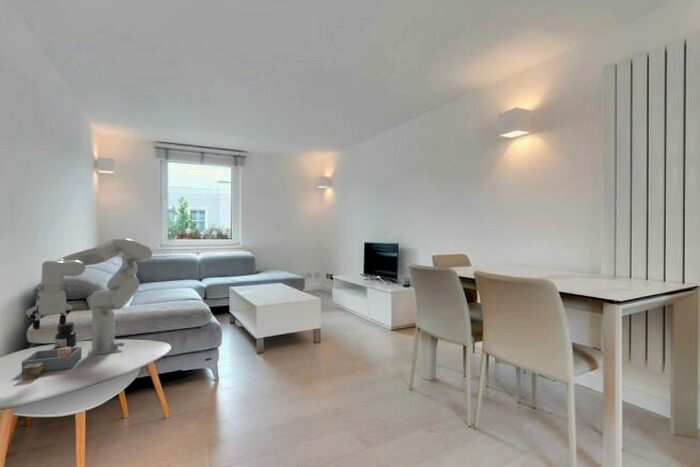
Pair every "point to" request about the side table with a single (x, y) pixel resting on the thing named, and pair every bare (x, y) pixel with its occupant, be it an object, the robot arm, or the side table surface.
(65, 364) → the tote
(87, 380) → the side table surface
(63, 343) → the ink bottle
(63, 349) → the peach domed capsule
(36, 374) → the walnut cube
